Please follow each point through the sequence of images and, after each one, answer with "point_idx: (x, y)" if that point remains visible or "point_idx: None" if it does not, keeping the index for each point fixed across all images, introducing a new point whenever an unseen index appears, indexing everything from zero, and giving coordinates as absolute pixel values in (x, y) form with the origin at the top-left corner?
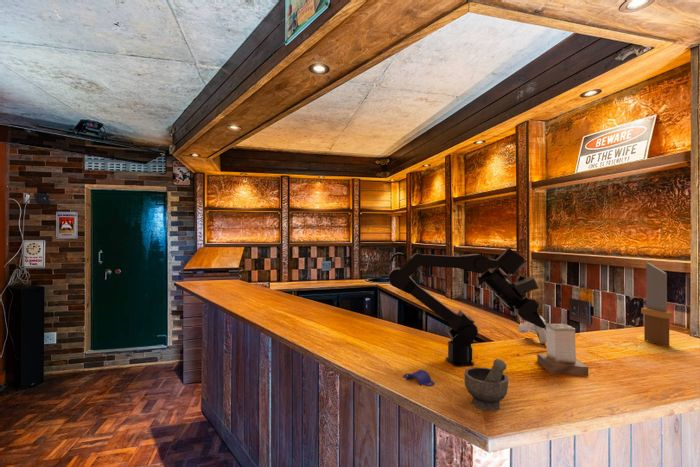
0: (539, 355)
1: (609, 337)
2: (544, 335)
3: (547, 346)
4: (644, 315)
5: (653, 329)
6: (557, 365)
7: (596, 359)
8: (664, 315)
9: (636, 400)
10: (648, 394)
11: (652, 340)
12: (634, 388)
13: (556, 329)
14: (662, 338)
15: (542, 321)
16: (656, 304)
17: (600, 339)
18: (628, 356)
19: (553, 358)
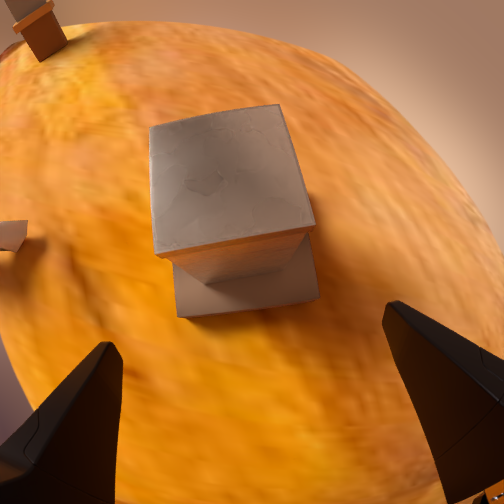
0: (201, 314)
1: (13, 101)
2: (7, 232)
3: (202, 276)
4: (21, 32)
5: (43, 37)
6: (315, 272)
7: (132, 130)
8: (50, 5)
9: (412, 149)
10: (366, 112)
11: (49, 51)
12: (342, 119)
13: (312, 214)
14: (61, 36)
15: (439, 327)
16: (29, 4)
17: (16, 113)
18: (110, 76)
19: (264, 272)
